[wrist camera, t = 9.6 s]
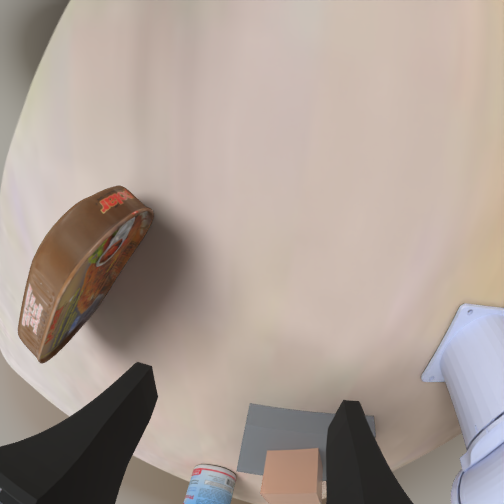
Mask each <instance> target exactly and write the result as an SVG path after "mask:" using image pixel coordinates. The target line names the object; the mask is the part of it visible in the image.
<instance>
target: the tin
mask: <svg viewBox="0 0 504 504" xmlns="http://www.w3.org/2000/svg"><path fill="white" fill-rule="evenodd" d="M153 217H154V213H153V211H152V210H151V209H150V208H147V207H146V206H145V205H144V204H142V203H141V202H140V201H139V200H138V199H137V198H136V197H135V196H134V195H133V194H132V193H131V192H130V191H129V190H127V189H126V188H124V187H123V186H115V187H110V188H107V189H105V190H103V191H100V192H98V193H96V194H94V195H92V196H90V197H88V198H85V199H83V200H81V201H80V202H78V203H77V204H75V205H74V206H73V207H72V208H71V209H69V210H68V211H67V212H66V213H65V214H64V215H63V216H62V217H61V218H60V219H59V220H58V221H57V222H56V224H55V225H54V226H53V227H52V228H51V230H50V231H49V232H48V233H47V235H46V236H45V238H44V239H43V241H42V243H41V244H40V246H39V248H38V250H37V252H36V254H35V256H34V258H33V261H32V264H31V267H30V271H29V275H28V279H27V283H26V287H25V292H24V297H23V302H22V307H21V313H20V318H19V325H18V335H19V337H20V339H21V341H22V342H23V343H24V344H25V345H26V347H27V348H28V349H29V350H30V351H31V352H32V353H33V354H34V355H35V356H36V357H37V359H38V361H39V362H40V363H45V362H47V361H48V360H50V359H51V358H52V357H53V356H55V355H56V354H57V353H58V352H59V351H60V350H61V349H62V348H63V347H64V346H65V345H66V344H67V343H68V342H69V341H70V340H71V339H72V337H73V336H74V335H75V334H76V333H77V332H78V330H79V329H80V328H81V327H82V326H83V325H84V324H85V323H86V321H87V320H88V319H89V318H90V317H91V315H92V314H93V313H94V312H95V310H96V309H97V308H98V306H99V305H100V303H101V302H102V300H103V299H104V297H105V296H106V294H107V293H108V291H109V289H110V288H111V286H112V284H113V283H114V281H115V280H116V278H117V276H118V275H119V273H120V272H121V270H122V269H123V267H124V266H125V264H126V263H127V261H128V260H129V258H130V257H131V255H132V254H133V252H134V251H135V249H136V248H137V246H138V245H139V243H140V242H141V240H142V239H143V237H144V236H145V234H146V233H147V231H148V229H149V227H150V225H151V223H152V220H153Z"/></svg>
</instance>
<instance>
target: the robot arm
mask: <svg viewBox="0 0 504 504" xmlns="http://www.w3.org/2000/svg"><path fill="white" fill-rule="evenodd" d="M469 310H470V311H469ZM468 311H469V312H468ZM421 379H422V381H423V382H445V383H446V385H447V388H448V391H449V394H450V397H451V400H452V403H453V406H454V409H455V412H456V415H457V418H458V421H459V424H460V428H461V431H462V435H463V438H464V441H465V445H466V449H467V452H466V453H465V454H464V455H463V456H461V457H460V461H461V466H462V469H461V470H460V471H459V473H458V474H457V475H456V477H455V479H454V482H453V485H452V490H451V504H504V308H500V307H491V306H483V305H475V304H463V305H461V306H460V307H459V309H458V311H457V313H456V315H455V317H454V319H453V321H452V323H451V325H450V327H449V329H448V331H447V333H446V335H445V336H444V338H443V340H442V342H441V344H440V345H439V347H438V349H437V351H436V352H435V354H434V356H433V358H432V359H431V361H430V363H429V364H428V366H427V367H426V369H425V371H424V372H423V374H422V376H421ZM157 398H158V395H157V390H156V385H155V380H154V375H153V370H152V366H150V365H146V364H143V363H140V362H137V363H135V364H134V365H133V366H132V367H131V368H130V369H129V370H128V371H126V372H125V373H124V374H123V375H122V376H121V377H120V378H119V379H118V380H117V381H115V382H114V383H113V384H112V385H111V386H110V387H109V388H107V389H106V390H105V391H104V392H103V393H101V394H100V395H99V396H98V397H96V398H95V399H94V400H93V401H91V402H90V403H89V404H87V405H86V406H85V407H83V408H82V409H81V410H79V411H78V412H76V413H75V414H73V415H72V416H70V417H69V418H67V419H65V420H64V421H62V422H60V423H59V424H57V425H55V426H53V427H51V428H49V429H47V430H45V431H43V432H41V433H39V434H37V435H34V436H32V437H29V438H26V439H24V440H21V441H19V442H15V443H12V444H9V445H5V446H1V447H0V504H115V502H116V498H117V495H118V492H119V488H120V485H121V482H122V479H123V476H124V473H125V471H126V468H127V465H128V463H129V461H130V459H131V457H132V455H133V453H134V451H135V449H136V447H137V445H138V443H139V441H140V439H141V437H142V435H143V433H144V431H145V429H146V427H147V425H148V423H149V421H150V419H151V416H152V413H153V410H154V407H155V404H156V401H157ZM326 482H327V502H326V504H413V503H412V501H411V500H410V499H409V497H408V496H407V494H406V493H405V492H404V490H403V489H402V487H401V486H400V484H399V483H398V481H397V480H396V478H395V476H394V475H393V473H392V471H391V469H390V468H389V466H388V464H387V462H386V460H385V458H384V456H383V454H382V452H381V450H380V448H379V446H378V444H377V442H376V440H375V438H374V435H373V433H372V431H371V429H370V426H369V424H368V422H367V419H366V417H365V414H364V412H363V409H362V407H361V404H360V402H359V401H347V400H343V402H342V403H341V405H340V407H339V409H338V411H337V413H336V414H335V416H334V418H333V420H332V422H331V423H330V425H329V427H328V432H327V443H326Z"/></svg>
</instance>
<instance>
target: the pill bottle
mask: <svg viewBox="0 0 504 504" xmlns="http://www.w3.org/2000/svg"><path fill="white" fill-rule="evenodd" d="M235 481H236V476H235V474H234V473H233V472H231V471H229V470H228V469H225V468H222V467H218V466H213V465H207V464H201V465H197V466H196V467H195V468H194V471H193V474H192V477H191V480H190V484H189V487H188V490H187V493H186V496H185V500H184V503H183V504H230V503H231V499H232V494H233V490H234V485H235Z"/></svg>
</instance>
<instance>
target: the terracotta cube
mask: <svg viewBox="0 0 504 504" xmlns="http://www.w3.org/2000/svg"><path fill="white" fill-rule="evenodd" d="M322 478H323V465H322V461H321V457H320V453H319V448H311V449H297V450H272V451H267V455H266V461H265V467H264V474H263V480H262V486H261V492H260V494H261V495H262V496H263V497H264V499H265V500H266V501H267V502H268V503H269V504H321V500H322Z"/></svg>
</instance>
